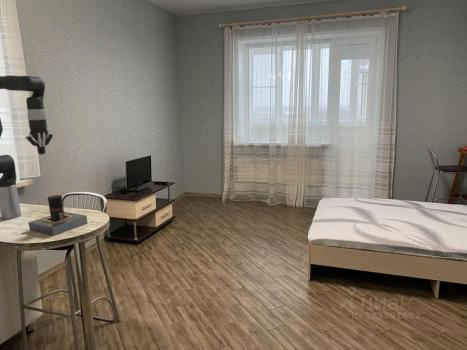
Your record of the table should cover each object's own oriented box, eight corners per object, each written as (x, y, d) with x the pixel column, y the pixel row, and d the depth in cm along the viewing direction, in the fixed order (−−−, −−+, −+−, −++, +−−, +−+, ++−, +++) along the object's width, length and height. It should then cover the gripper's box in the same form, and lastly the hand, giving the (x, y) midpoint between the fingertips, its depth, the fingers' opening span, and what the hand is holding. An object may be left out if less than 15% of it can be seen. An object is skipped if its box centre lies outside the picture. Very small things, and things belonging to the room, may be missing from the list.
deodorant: (60, 229, 162) (55, 198, 159) (49, 228, 163) (44, 198, 160) (68, 224, 168) (64, 195, 165) (58, 224, 169) (53, 194, 166)
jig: (29, 230, 162) (28, 221, 161) (64, 218, 178) (63, 210, 177) (53, 235, 154) (51, 226, 153) (87, 223, 169) (86, 214, 168)
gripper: (45, 118, 174) (50, 152, 178) (18, 119, 163) (24, 155, 167) (54, 118, 171) (59, 152, 174) (28, 119, 159) (33, 156, 163)
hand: (42, 154), depth 170 cm, fingers closed
